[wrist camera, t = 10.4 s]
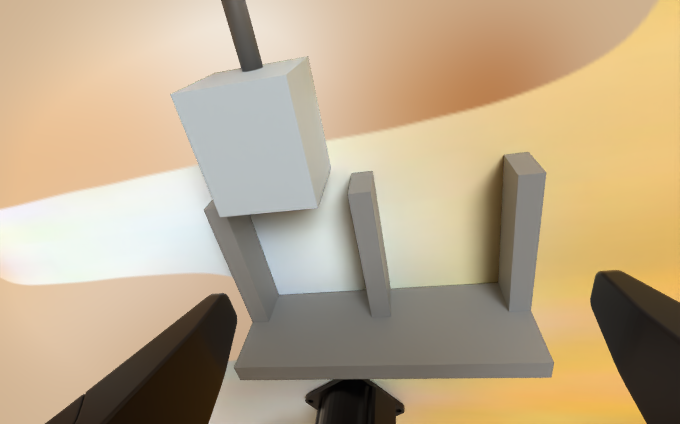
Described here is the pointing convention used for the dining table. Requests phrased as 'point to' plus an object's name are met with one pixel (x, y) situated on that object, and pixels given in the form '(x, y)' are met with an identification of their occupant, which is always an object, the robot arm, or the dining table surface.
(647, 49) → the dining table surface
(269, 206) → the orange knob joystick
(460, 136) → the dining table surface
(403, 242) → the dining table surface
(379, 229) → the lane rack
